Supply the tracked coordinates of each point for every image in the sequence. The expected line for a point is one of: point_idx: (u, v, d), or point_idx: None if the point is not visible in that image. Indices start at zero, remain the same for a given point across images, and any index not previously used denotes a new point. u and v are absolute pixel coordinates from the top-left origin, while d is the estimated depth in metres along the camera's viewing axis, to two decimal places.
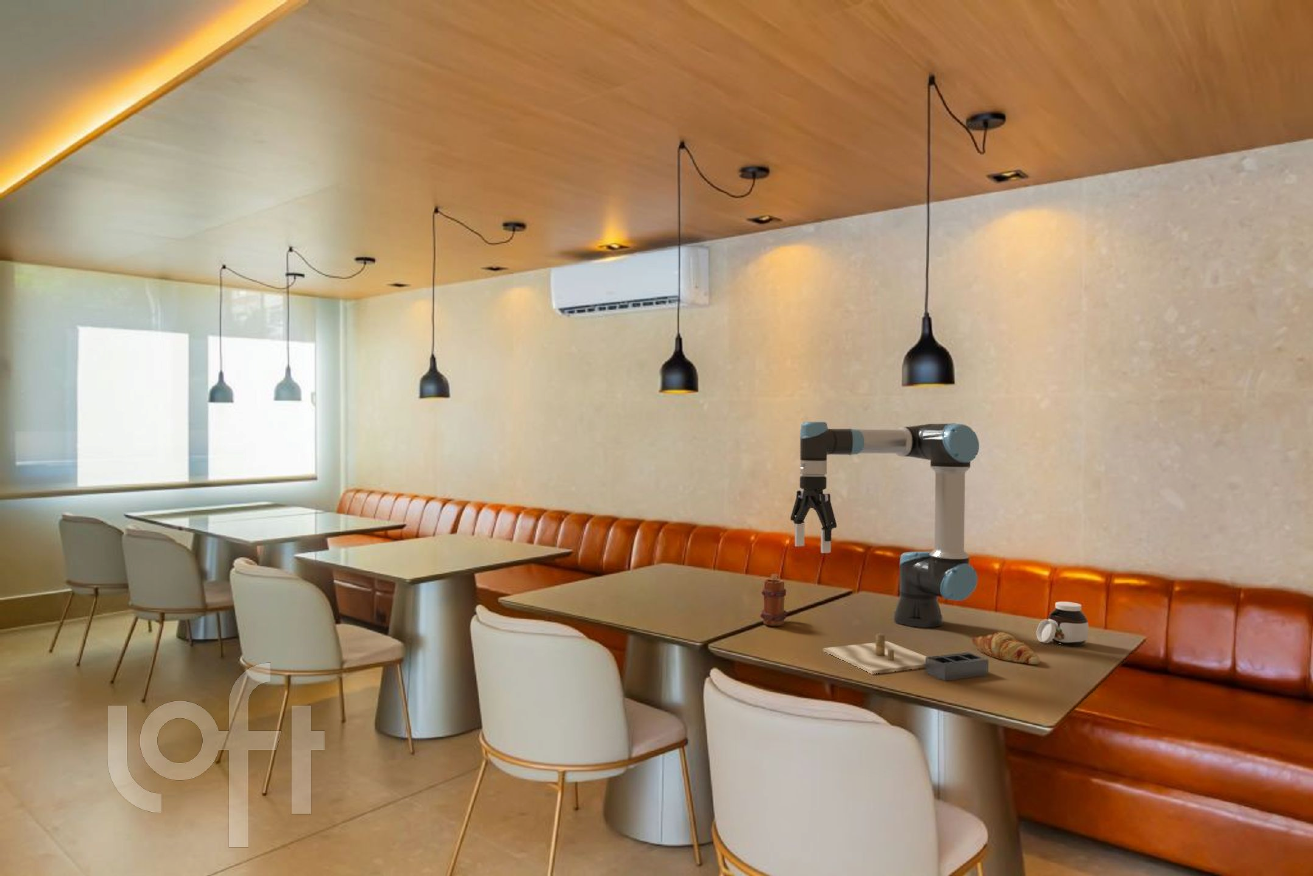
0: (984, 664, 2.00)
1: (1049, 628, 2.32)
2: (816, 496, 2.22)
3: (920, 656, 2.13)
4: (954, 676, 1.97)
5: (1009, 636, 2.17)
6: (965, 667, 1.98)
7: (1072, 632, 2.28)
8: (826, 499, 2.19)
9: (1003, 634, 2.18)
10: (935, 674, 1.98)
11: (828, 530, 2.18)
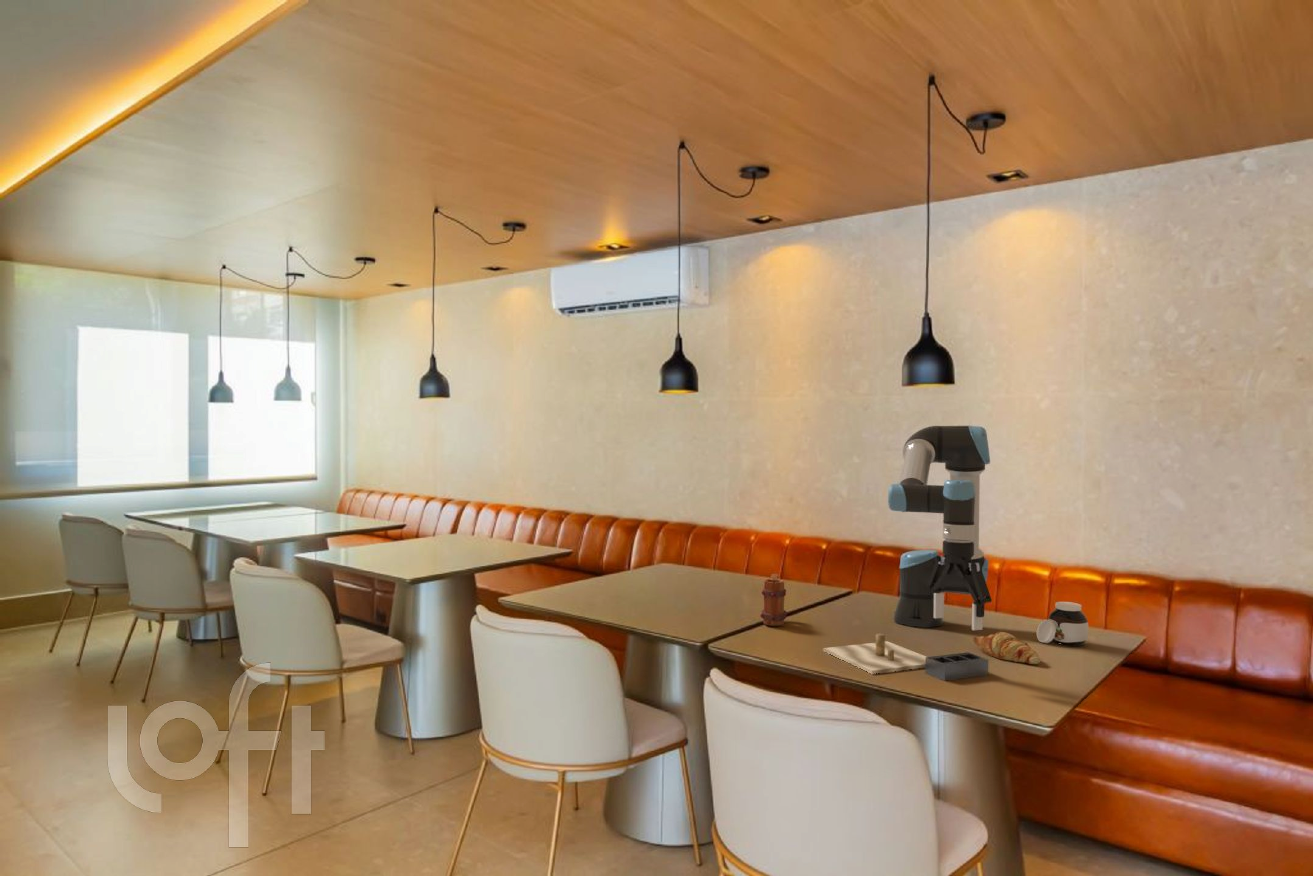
0: (984, 664, 2.00)
1: (1049, 628, 2.32)
2: (964, 565, 1.97)
3: (920, 656, 2.13)
4: (954, 676, 1.97)
5: (1010, 636, 2.17)
6: (965, 667, 1.98)
7: (1072, 632, 2.28)
8: (978, 569, 1.95)
9: (1004, 634, 2.18)
10: (935, 674, 1.98)
11: (981, 605, 1.93)
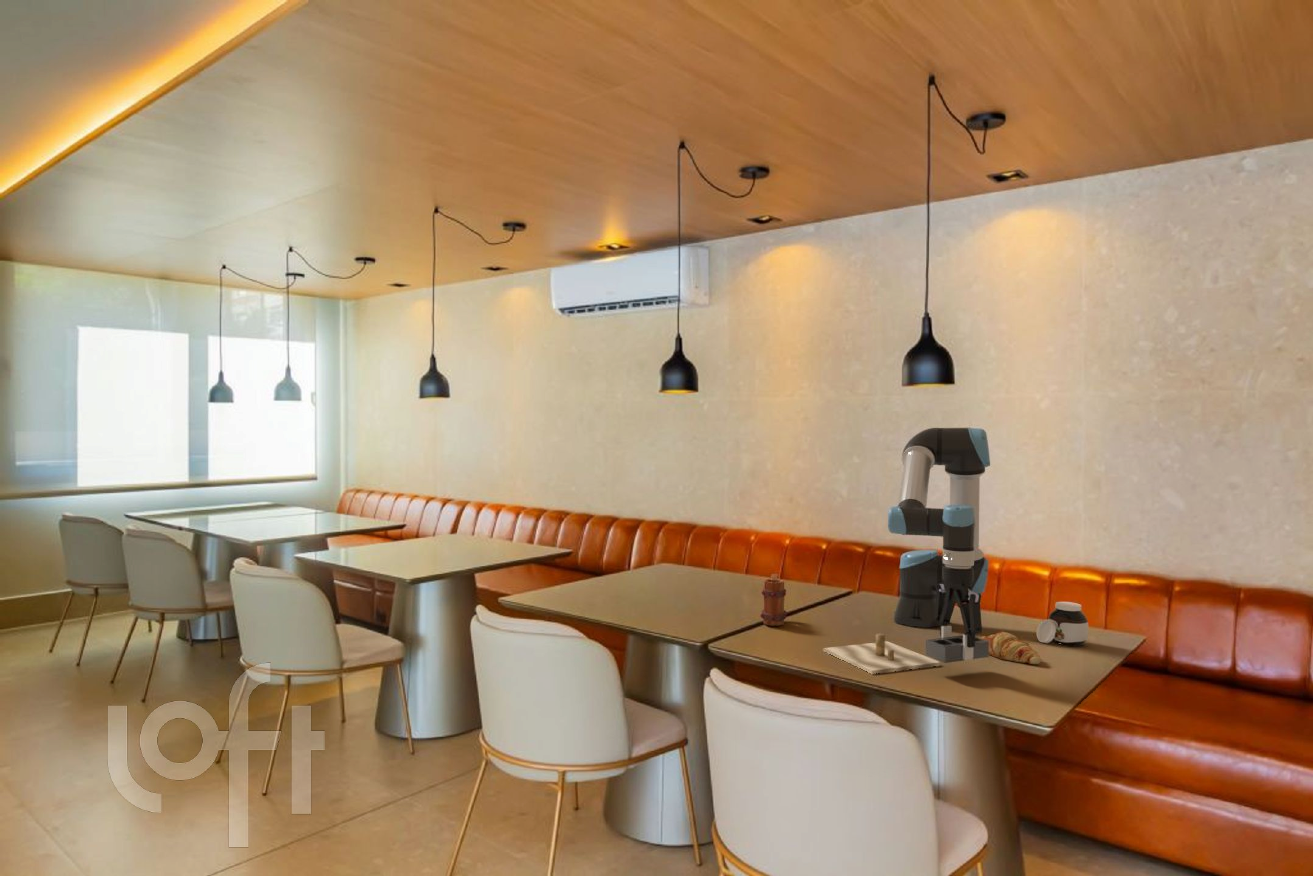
0: (984, 646, 2.00)
1: (1049, 628, 2.32)
2: (964, 591, 1.98)
3: (920, 656, 2.13)
4: (955, 658, 1.97)
5: (1011, 636, 2.17)
6: None
7: (1072, 632, 2.28)
8: (976, 600, 1.95)
9: (1005, 634, 2.18)
10: (936, 656, 1.99)
11: (972, 635, 1.96)
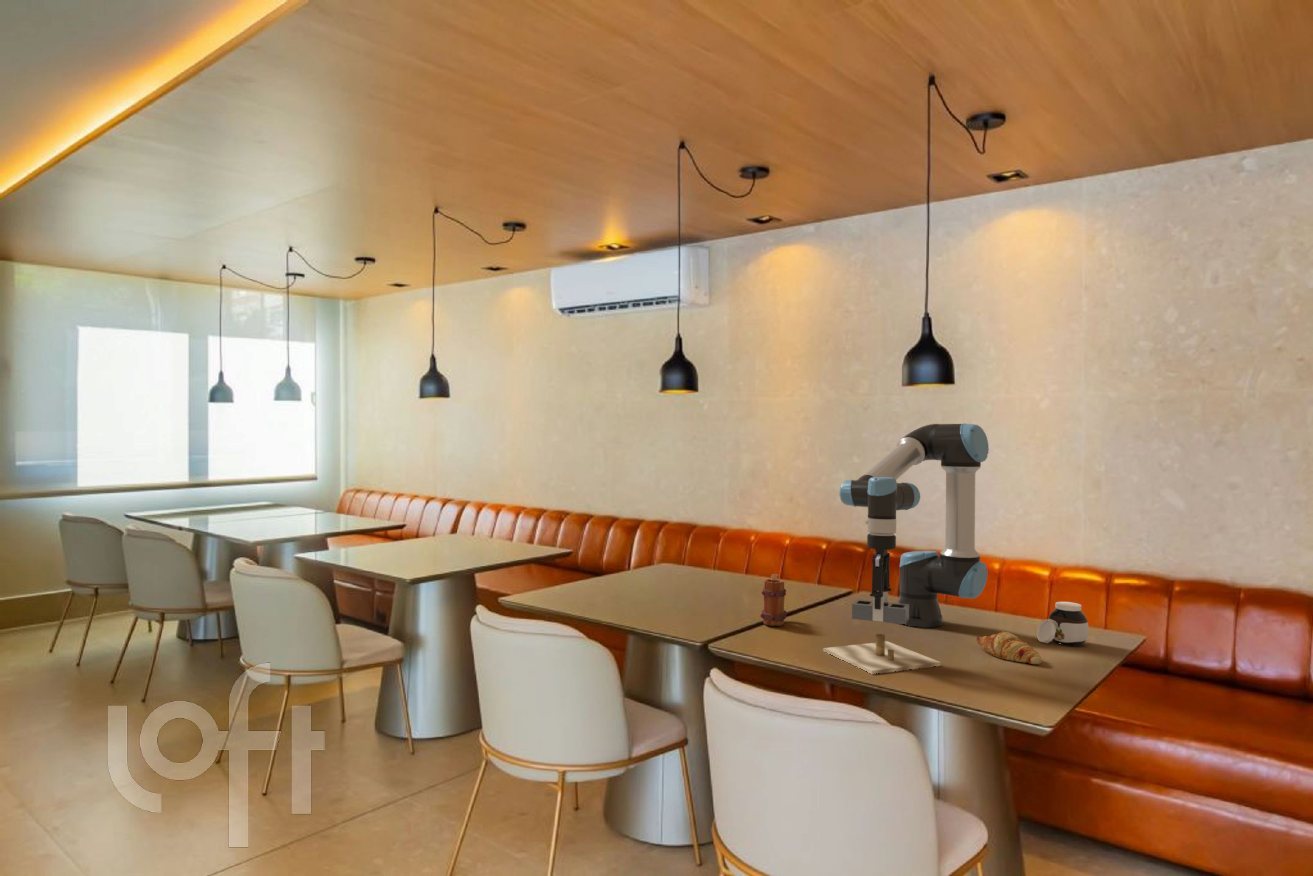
0: (900, 613, 2.09)
1: (1049, 628, 2.32)
2: (875, 556, 2.11)
3: (920, 656, 2.13)
4: (863, 617, 2.13)
5: (1012, 636, 2.17)
6: None
7: (1072, 632, 2.28)
8: (876, 565, 2.08)
9: (1006, 634, 2.18)
10: None
11: (876, 598, 2.09)
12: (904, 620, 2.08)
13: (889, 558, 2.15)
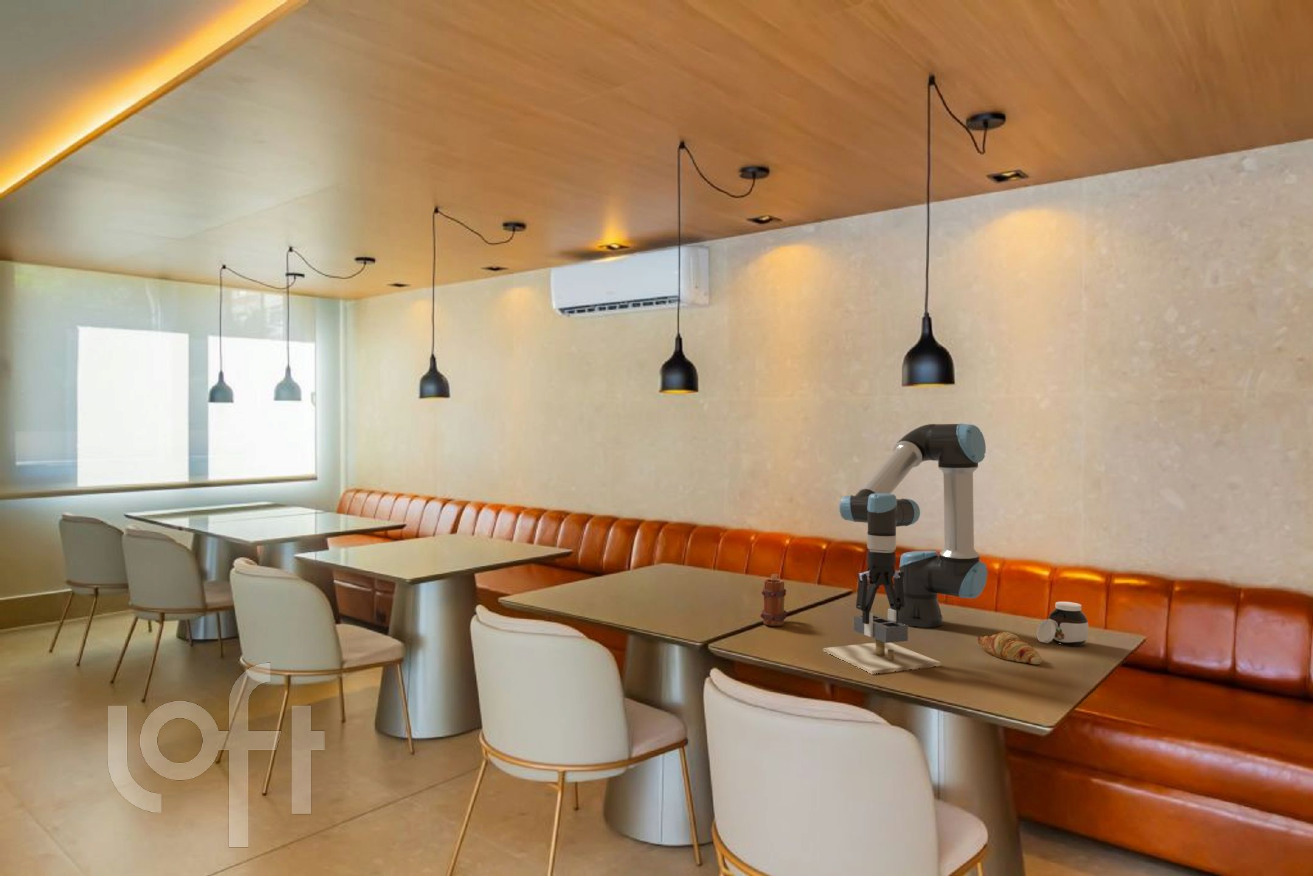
0: (882, 631, 2.08)
1: (1049, 628, 2.32)
2: None
3: (920, 656, 2.13)
4: (860, 630, 2.17)
5: (1013, 636, 2.17)
6: None
7: (1072, 632, 2.28)
8: (861, 579, 2.12)
9: (1007, 634, 2.18)
10: None
11: (863, 612, 2.12)
12: (885, 638, 2.07)
13: (890, 576, 2.13)
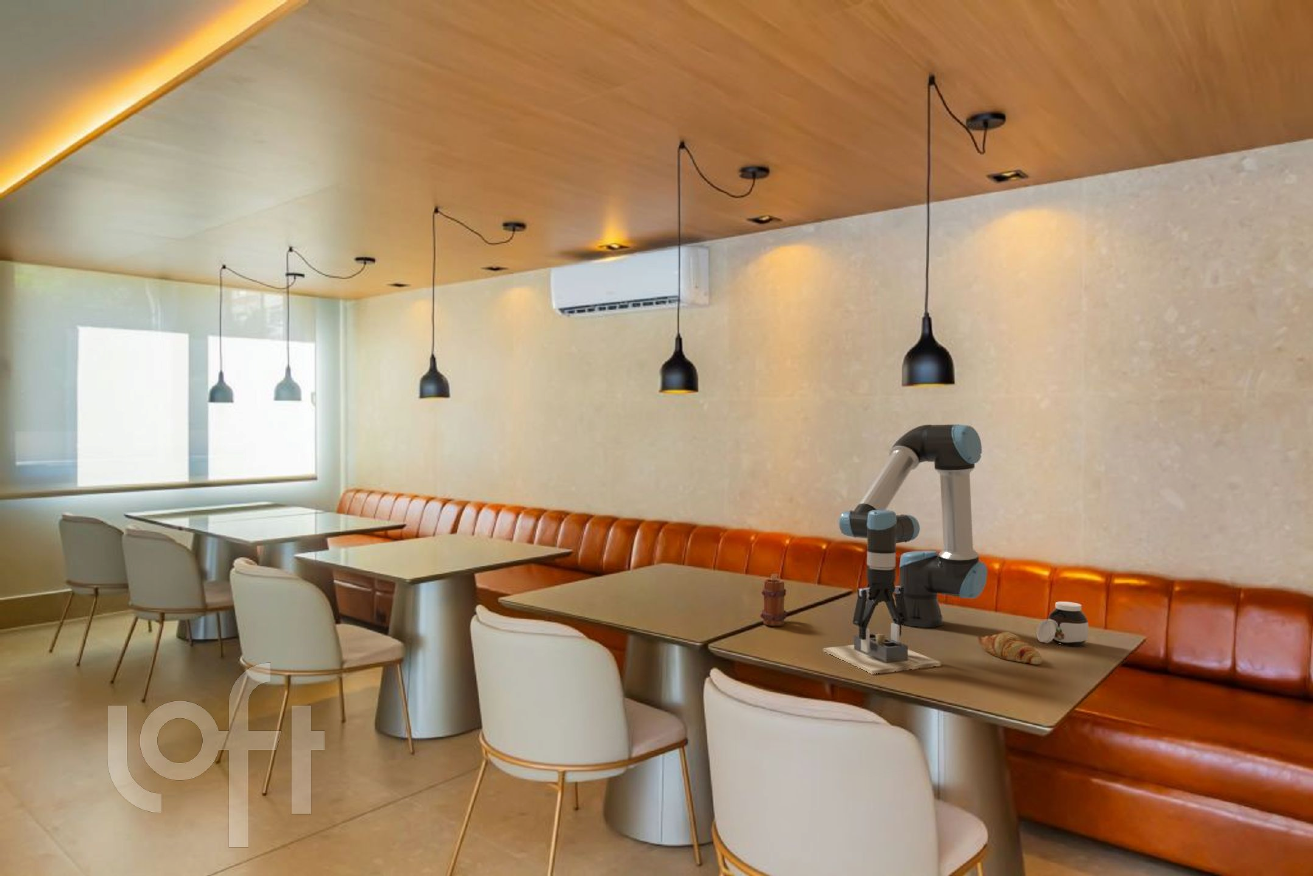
0: (882, 651, 2.08)
1: (1049, 628, 2.32)
2: None
3: (920, 656, 2.13)
4: (860, 649, 2.17)
5: (1013, 636, 2.17)
6: None
7: (1072, 632, 2.28)
8: (860, 595, 2.12)
9: (1007, 634, 2.18)
10: None
11: (859, 627, 2.12)
12: (885, 659, 2.07)
13: (890, 593, 2.13)
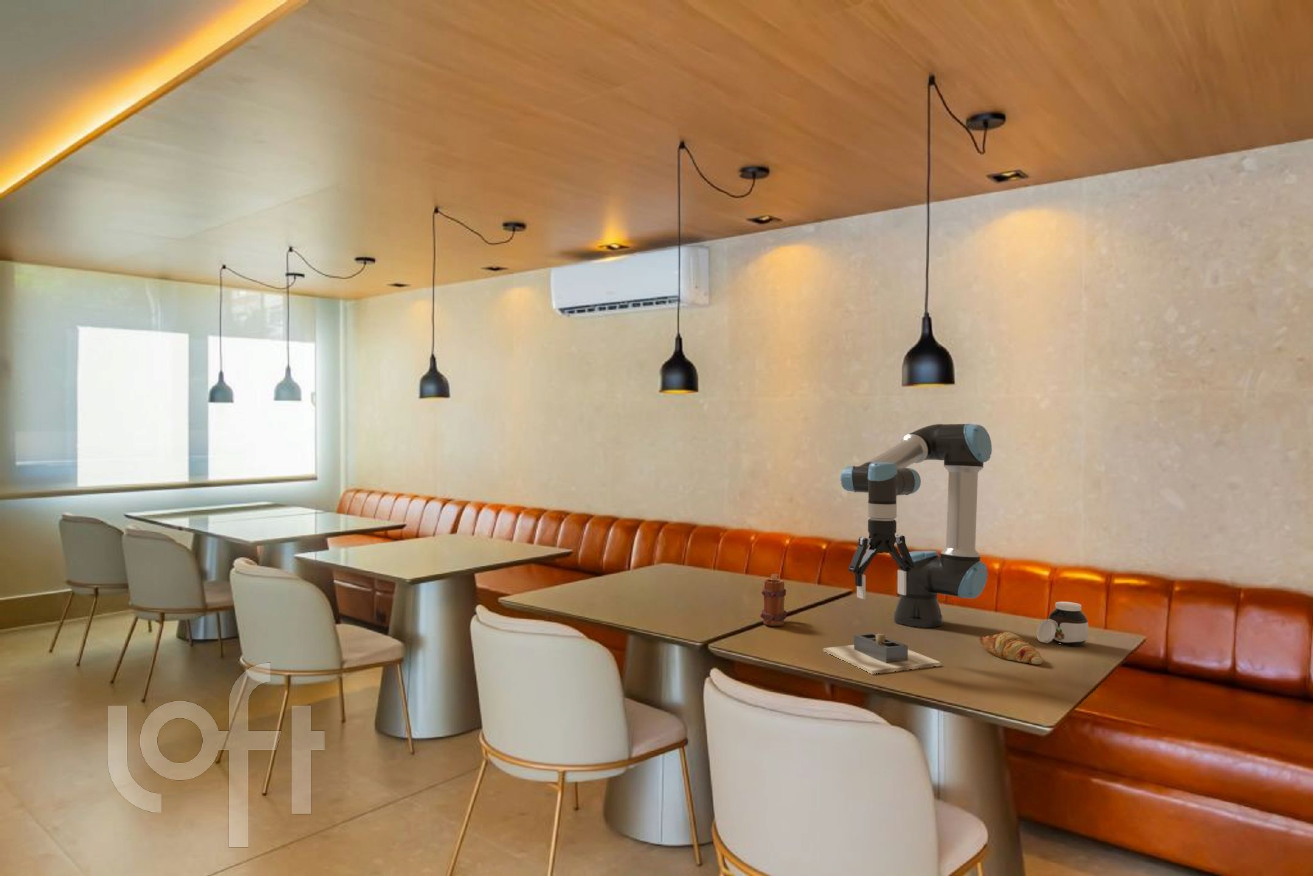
0: (882, 651, 2.08)
1: (1049, 628, 2.32)
2: None
3: (920, 656, 2.13)
4: (860, 649, 2.17)
5: (1014, 636, 2.17)
6: (868, 645, 2.13)
7: (1072, 632, 2.28)
8: (860, 543, 2.13)
9: (1008, 634, 2.18)
10: None
11: (855, 574, 2.12)
12: (885, 659, 2.07)
13: (891, 543, 2.14)
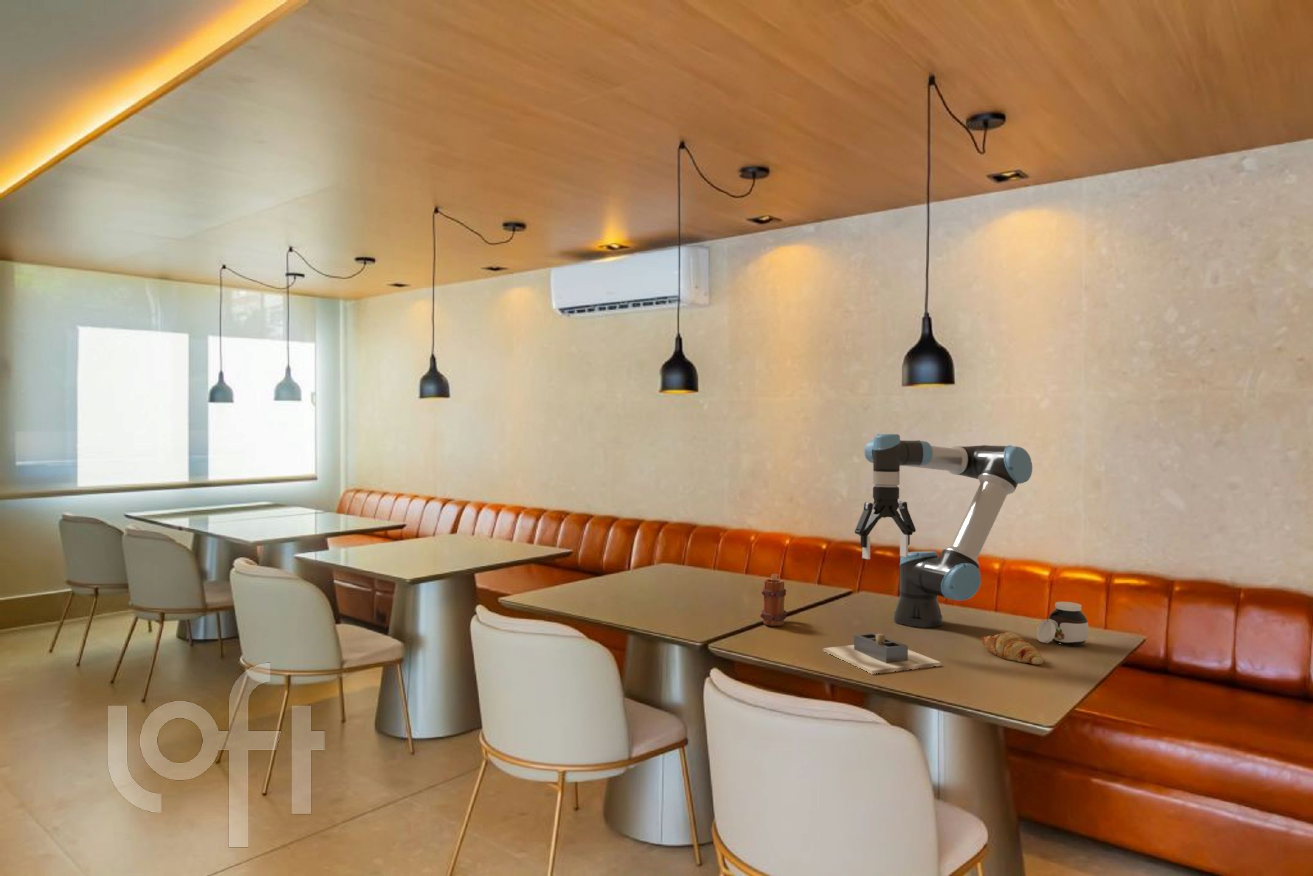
0: (882, 651, 2.08)
1: (1049, 628, 2.32)
2: None
3: (920, 656, 2.13)
4: (860, 649, 2.17)
5: (1015, 636, 2.17)
6: (868, 645, 2.13)
7: (1072, 632, 2.28)
8: (866, 507, 2.30)
9: (1009, 634, 2.18)
10: None
11: (861, 536, 2.30)
12: (885, 659, 2.07)
13: (894, 508, 2.32)
